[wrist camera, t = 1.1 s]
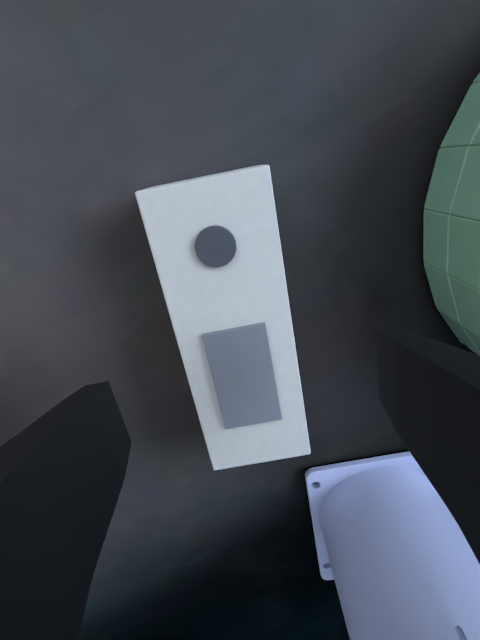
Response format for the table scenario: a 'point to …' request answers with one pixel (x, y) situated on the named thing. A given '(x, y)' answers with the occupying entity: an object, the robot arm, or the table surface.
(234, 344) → the remote
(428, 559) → the robot arm
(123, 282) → the table surface
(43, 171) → the table surface
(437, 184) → the bowl
